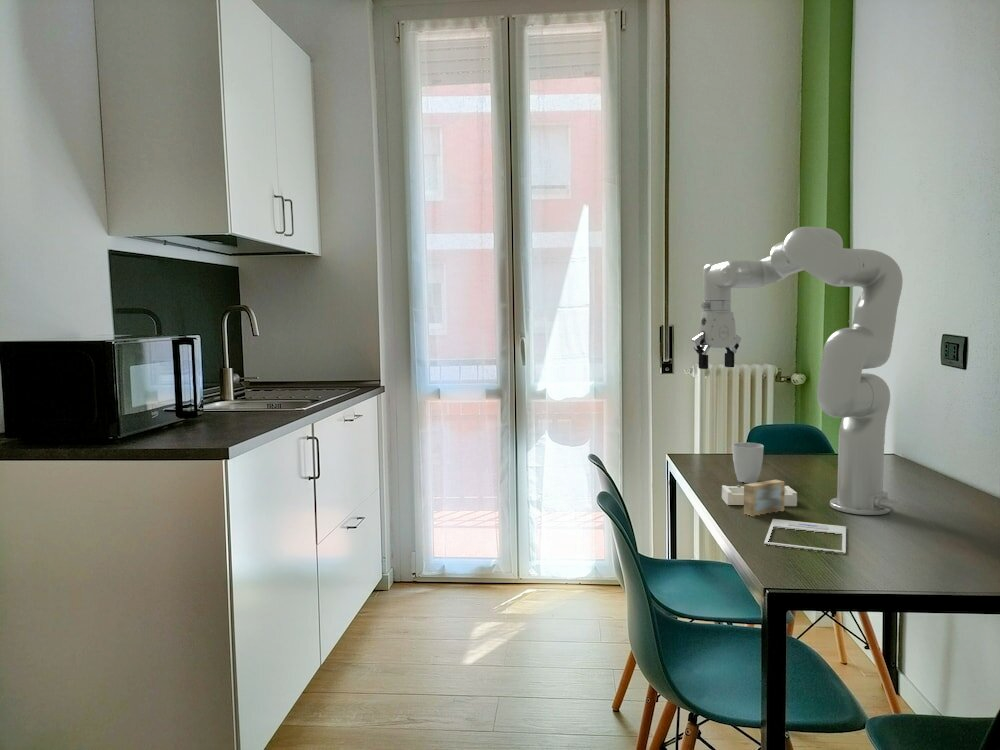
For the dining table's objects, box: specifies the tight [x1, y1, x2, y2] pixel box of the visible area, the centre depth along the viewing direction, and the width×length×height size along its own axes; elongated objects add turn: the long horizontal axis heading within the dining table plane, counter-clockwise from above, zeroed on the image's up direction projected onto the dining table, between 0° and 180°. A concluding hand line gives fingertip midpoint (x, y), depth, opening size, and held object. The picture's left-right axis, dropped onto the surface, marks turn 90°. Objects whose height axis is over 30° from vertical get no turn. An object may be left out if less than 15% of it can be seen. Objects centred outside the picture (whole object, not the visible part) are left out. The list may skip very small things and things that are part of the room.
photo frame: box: [763, 518, 847, 553], centre depth 146 cm, size 15×1×18 cm
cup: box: [732, 441, 765, 484], centre depth 194 cm, size 8×8×10 cm
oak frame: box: [743, 479, 786, 517], centre depth 164 cm, size 10×2×7 cm, turn 114°
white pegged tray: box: [721, 484, 798, 507], centre depth 173 cm, size 16×7×3 cm, turn 84°
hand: (716, 367), depth 201 cm, fingers open, 9 cm apart
